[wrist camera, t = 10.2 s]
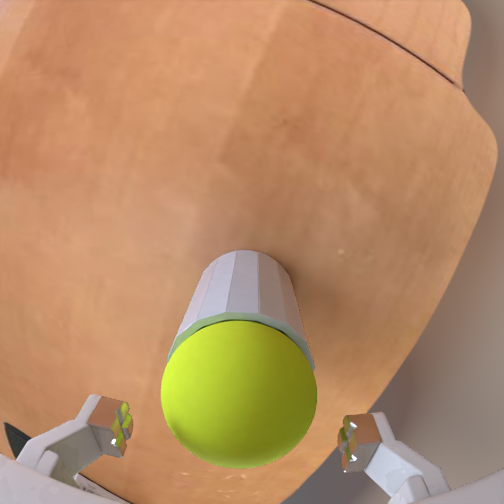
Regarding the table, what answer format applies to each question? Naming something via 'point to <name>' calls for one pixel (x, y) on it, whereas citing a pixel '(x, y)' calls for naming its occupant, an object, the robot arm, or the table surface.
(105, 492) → the hard drive box
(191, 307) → the cup
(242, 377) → the tennis ball
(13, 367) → the table surface
